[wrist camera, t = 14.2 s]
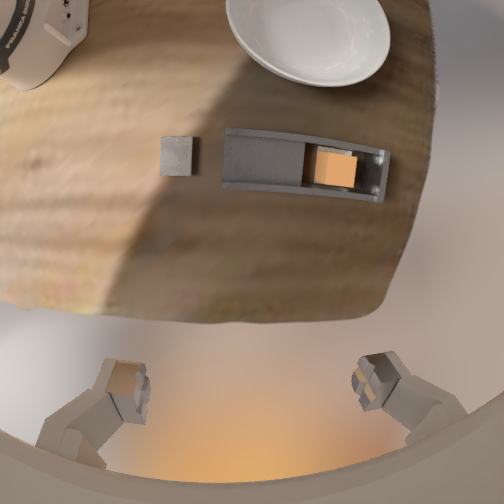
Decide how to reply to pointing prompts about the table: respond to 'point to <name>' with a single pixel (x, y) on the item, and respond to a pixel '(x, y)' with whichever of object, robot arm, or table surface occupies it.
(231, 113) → the table surface
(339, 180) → the block
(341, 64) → the serving bowl
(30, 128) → the table surface
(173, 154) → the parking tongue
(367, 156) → the rail
